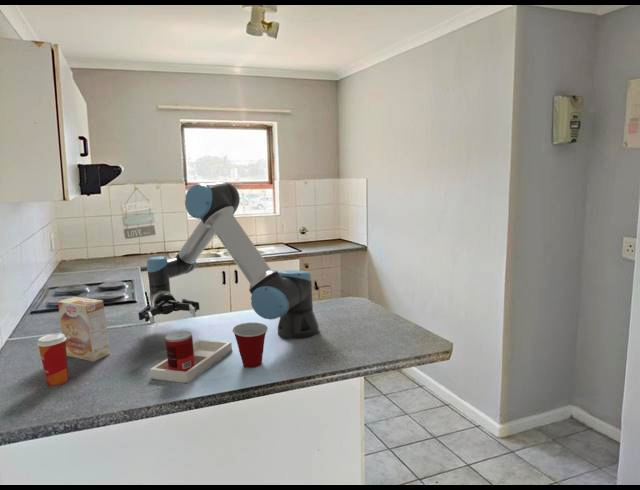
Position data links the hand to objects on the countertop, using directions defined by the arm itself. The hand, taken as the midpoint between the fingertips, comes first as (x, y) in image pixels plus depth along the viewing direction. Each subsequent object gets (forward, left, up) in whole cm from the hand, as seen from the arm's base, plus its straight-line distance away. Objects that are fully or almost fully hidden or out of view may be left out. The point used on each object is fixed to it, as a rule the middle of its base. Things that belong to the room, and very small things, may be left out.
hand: (173, 316), depth 155 cm
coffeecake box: (+32, +7, -14) cm, 35 cm away
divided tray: (-10, +5, -13) cm, 18 cm away
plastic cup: (-29, +1, -14) cm, 32 cm away
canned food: (-10, +11, -13) cm, 20 cm away
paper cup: (+24, +26, -14) cm, 38 cm away
